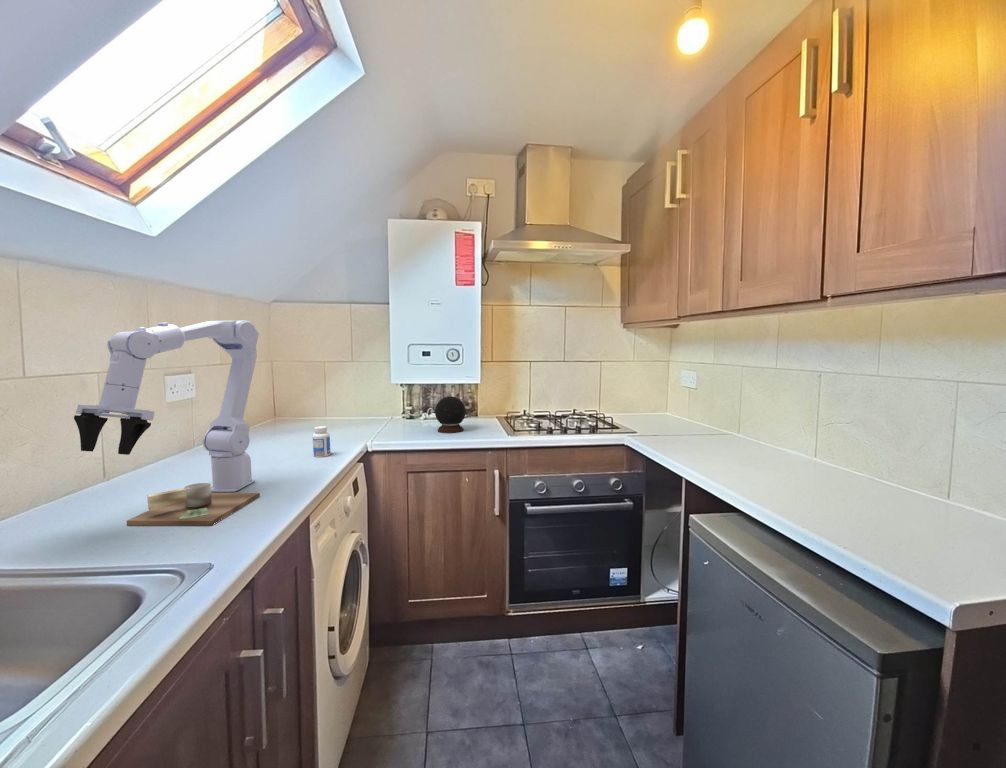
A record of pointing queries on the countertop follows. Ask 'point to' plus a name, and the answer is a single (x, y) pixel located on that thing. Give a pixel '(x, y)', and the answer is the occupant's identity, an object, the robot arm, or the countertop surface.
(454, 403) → the black ball on stand
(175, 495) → the beige elongated block piece
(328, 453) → the pill bottle
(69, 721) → the countertop surface
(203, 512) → the base
